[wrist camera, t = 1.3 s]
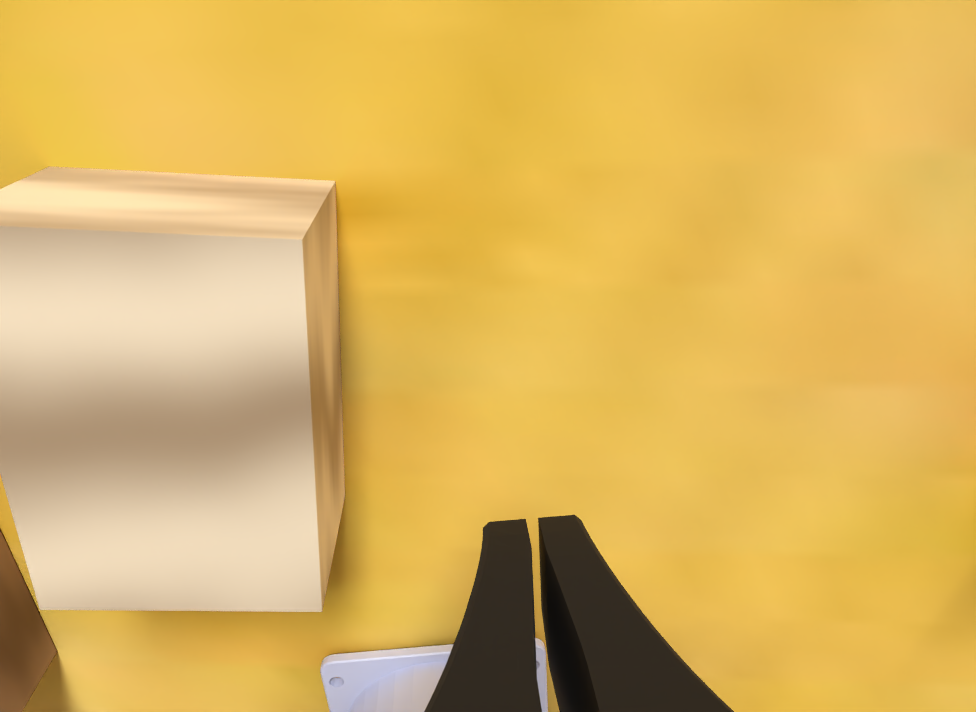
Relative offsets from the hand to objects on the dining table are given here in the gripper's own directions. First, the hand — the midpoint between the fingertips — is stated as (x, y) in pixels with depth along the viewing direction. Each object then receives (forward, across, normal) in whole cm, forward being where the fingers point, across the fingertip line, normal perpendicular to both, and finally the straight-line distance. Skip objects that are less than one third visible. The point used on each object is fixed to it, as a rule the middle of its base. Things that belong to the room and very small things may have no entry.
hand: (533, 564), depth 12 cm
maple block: (+10, +8, 0) cm, 13 cm away
